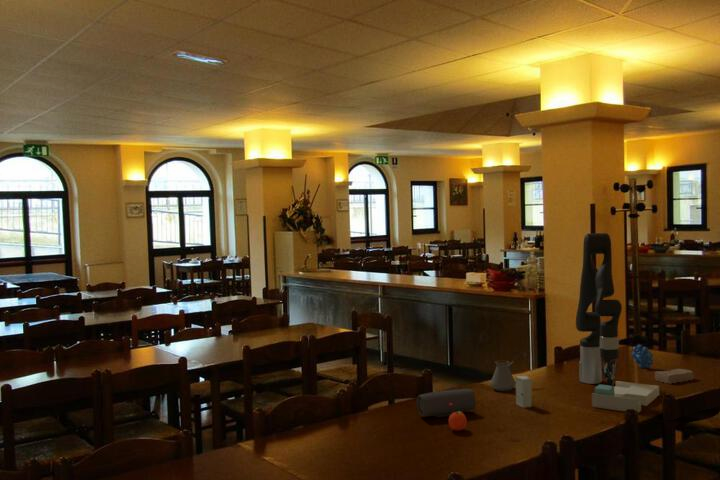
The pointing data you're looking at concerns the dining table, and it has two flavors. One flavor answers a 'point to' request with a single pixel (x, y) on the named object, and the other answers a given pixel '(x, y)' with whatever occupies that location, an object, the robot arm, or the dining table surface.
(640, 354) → the grapes
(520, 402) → the skincare box
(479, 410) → the dining table surface
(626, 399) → the tray
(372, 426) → the dining table surface
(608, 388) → the block
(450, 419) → the clementine
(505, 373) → the coffee pot
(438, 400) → the bluetooth speaker
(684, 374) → the brick
